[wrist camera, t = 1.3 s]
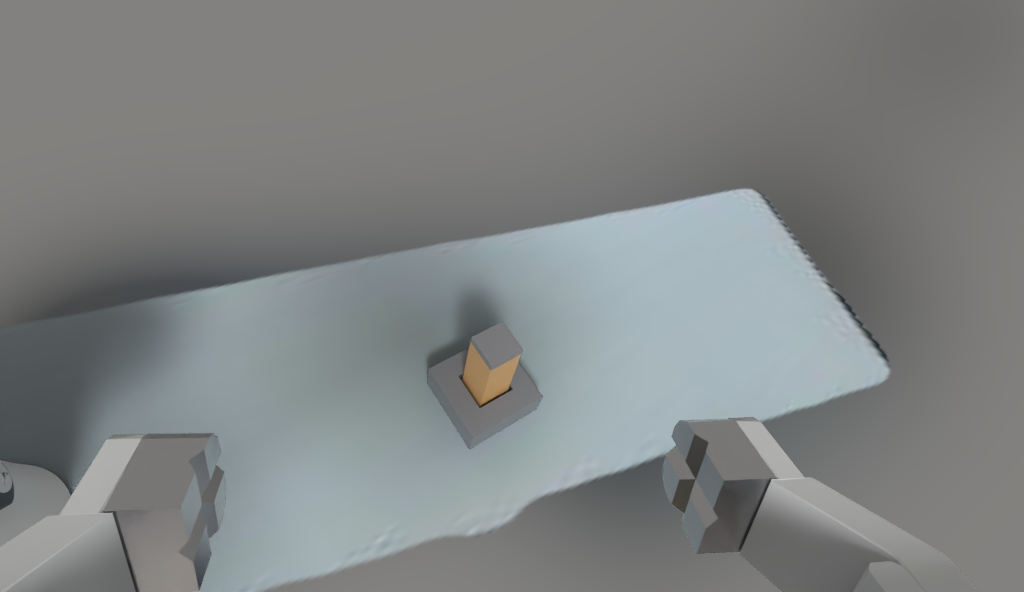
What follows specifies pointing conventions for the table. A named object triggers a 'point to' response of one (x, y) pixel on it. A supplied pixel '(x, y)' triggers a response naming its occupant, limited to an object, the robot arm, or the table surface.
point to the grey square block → (465, 410)
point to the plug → (491, 363)
